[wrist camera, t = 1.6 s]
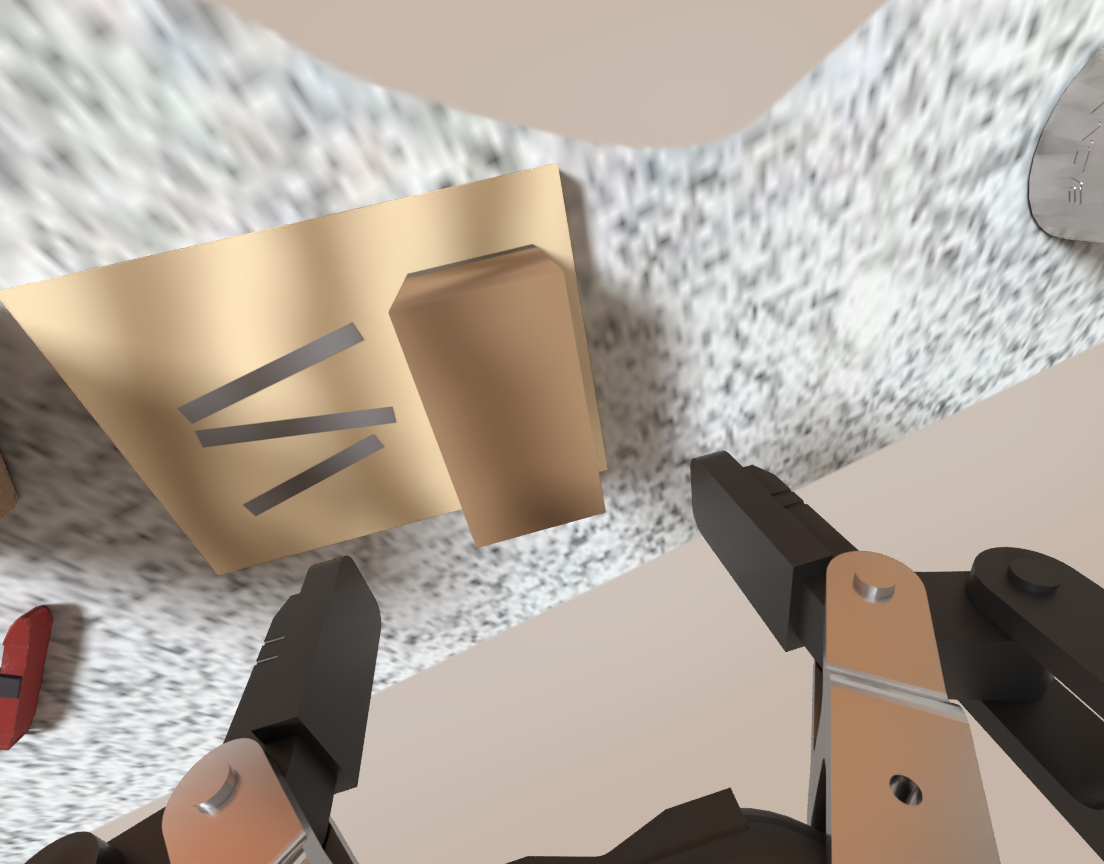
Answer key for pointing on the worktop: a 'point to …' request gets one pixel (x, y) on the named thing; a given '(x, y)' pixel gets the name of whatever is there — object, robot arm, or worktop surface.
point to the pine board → (286, 365)
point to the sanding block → (502, 390)
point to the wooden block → (6, 490)
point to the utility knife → (22, 673)
